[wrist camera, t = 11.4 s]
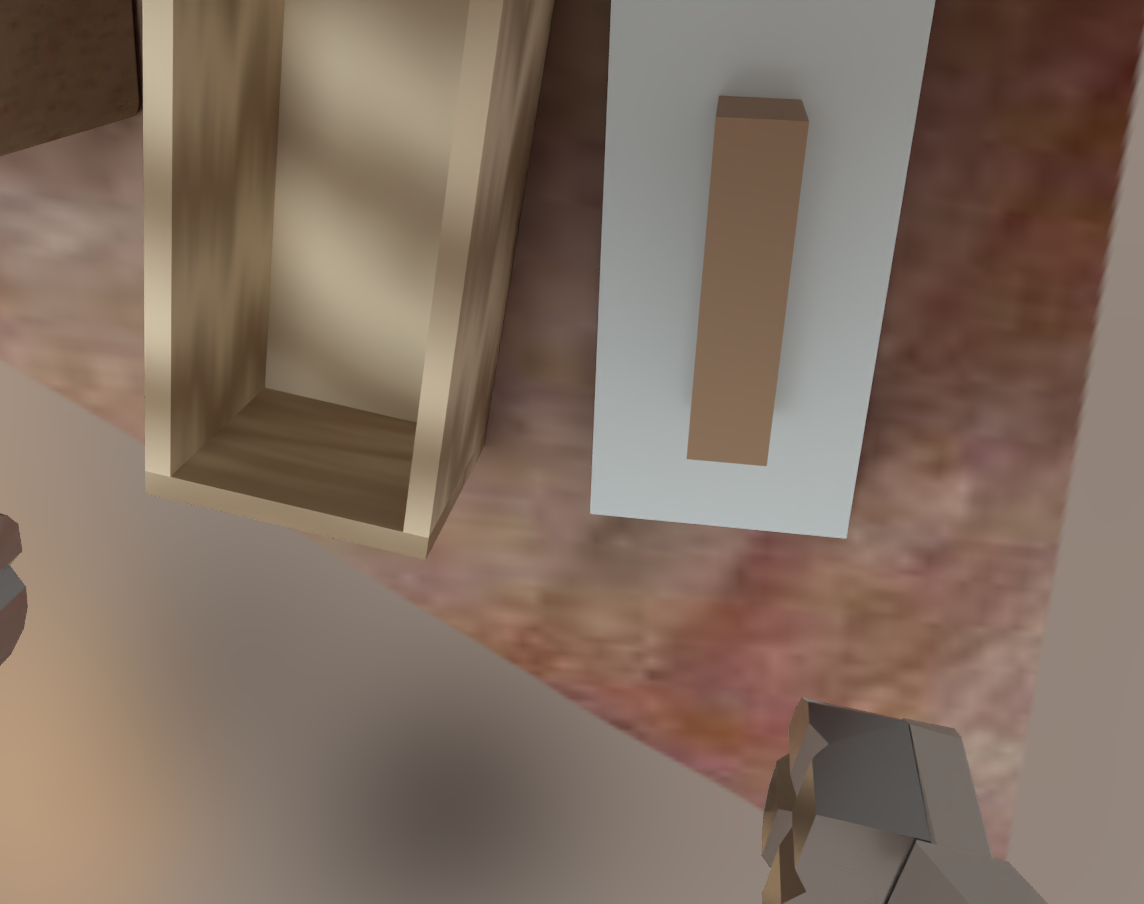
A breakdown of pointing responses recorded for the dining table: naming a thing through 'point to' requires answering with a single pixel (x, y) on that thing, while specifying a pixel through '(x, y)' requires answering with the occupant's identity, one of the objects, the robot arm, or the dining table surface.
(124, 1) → the wooden block
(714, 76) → the lid
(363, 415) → the light wooden open box
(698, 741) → the dining table surface
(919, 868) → the robot arm
